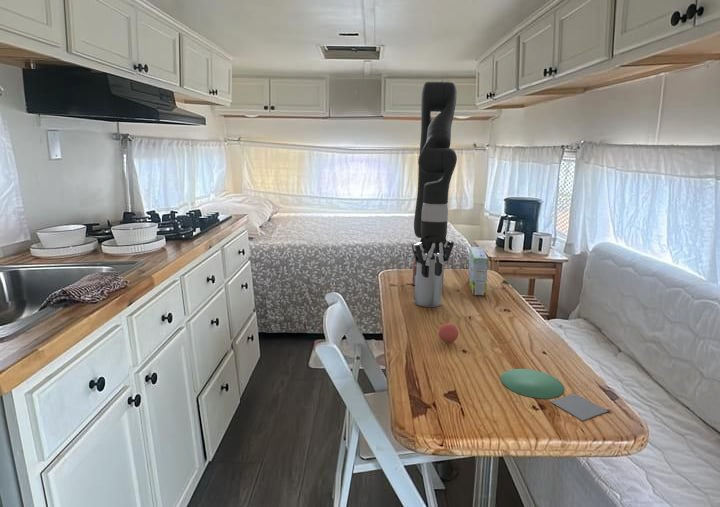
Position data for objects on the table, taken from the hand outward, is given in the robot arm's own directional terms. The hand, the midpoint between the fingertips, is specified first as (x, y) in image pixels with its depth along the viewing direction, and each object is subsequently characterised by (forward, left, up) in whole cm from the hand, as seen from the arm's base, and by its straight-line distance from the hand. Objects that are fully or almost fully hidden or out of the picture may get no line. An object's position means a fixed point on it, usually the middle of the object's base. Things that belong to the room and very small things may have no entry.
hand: (431, 276), depth 136 cm
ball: (+9, 0, -15) cm, 17 cm away
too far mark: (+49, +4, -17) cm, 53 cm away
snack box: (-30, +44, -18) cm, 56 cm away
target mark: (+37, +3, -17) cm, 41 cm away
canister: (-42, +29, -18) cm, 54 cm away
